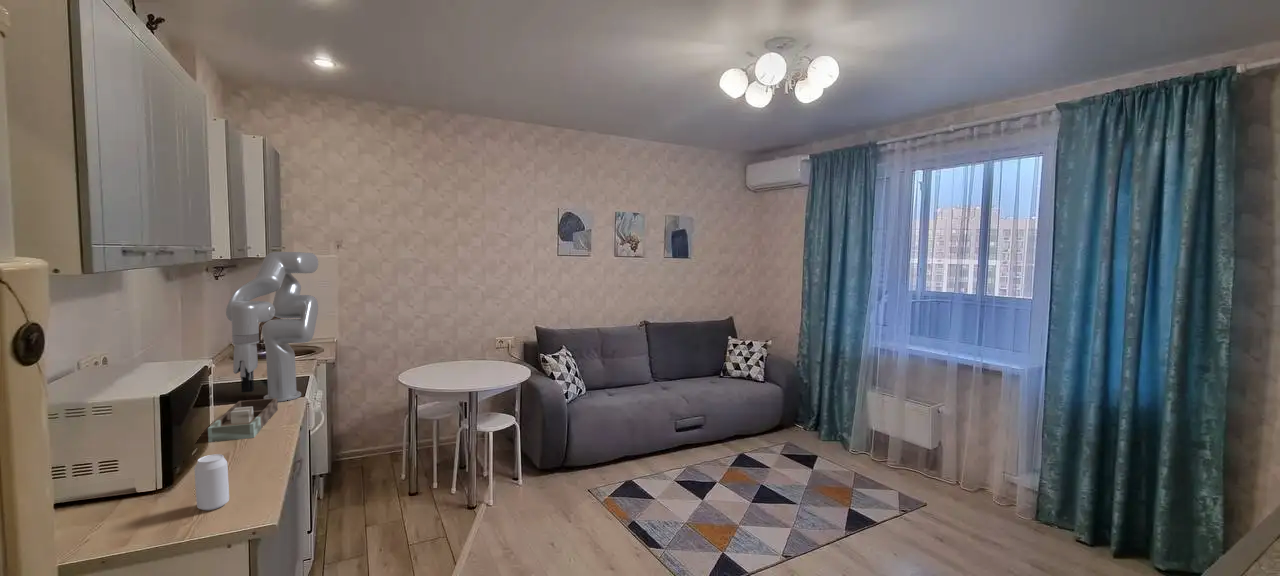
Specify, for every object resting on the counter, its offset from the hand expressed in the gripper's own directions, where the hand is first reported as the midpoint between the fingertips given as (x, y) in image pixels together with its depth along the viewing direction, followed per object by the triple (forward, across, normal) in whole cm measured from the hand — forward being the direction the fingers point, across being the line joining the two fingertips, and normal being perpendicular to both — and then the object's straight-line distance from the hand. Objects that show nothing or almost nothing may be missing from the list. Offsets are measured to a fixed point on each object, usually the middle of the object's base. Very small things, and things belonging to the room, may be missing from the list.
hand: (247, 391), depth 191 cm
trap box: (+11, +4, 0) cm, 11 cm away
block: (+8, +8, 0) cm, 11 cm away
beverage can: (+13, +68, +10) cm, 70 cm away
